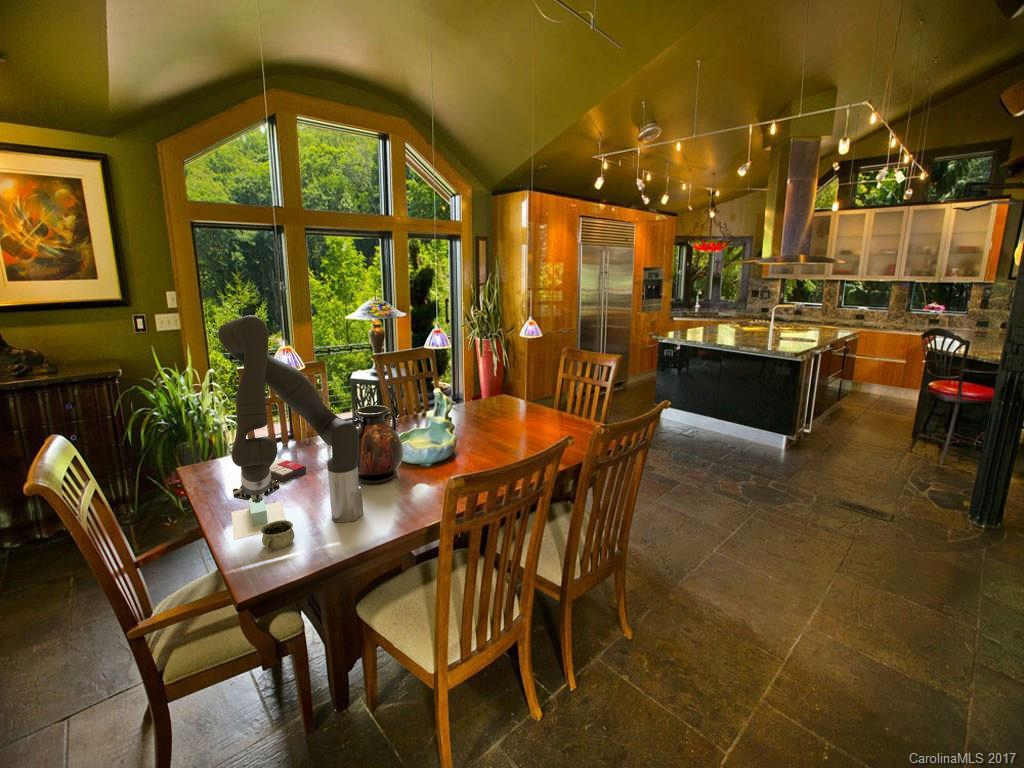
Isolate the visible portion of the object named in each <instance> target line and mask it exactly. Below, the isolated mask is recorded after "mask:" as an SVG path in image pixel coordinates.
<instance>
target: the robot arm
mask: <svg viewBox="0 0 1024 768" xmlns="http://www.w3.org/2000/svg"><path fill="white" fill-rule="evenodd" d="M217 333H218V334H217V335H218V337H217V338H218V340H219V343H220V344H221V345H222V348H224V349H225V350H226V352H228V353H229V354H231V356H233V357H234V358H235V359H236V360H238V361H239V362H240V363H242V364H243V371H242V374H241V377H240V381H239V383H238V387H237V391H236V395H235V412H236V432H235V437H234V441H233V445H232V450H231V459H232V463H233V464H234V465H235V466H236V467H240V469H241V470H240V471H241V472H240V482H241V485H240V487H239V488H232V493H233V498H234V499H238V500H243V501H248V500H250V498H251V499H252V502H255V503H259V502H260V501H262V500H263V499H264V497H269V496H271V495H272V494H274V493H275V492H277V491H278V490H280V488H281V487H280V482H279V481H278V480H277V481H276V480H273V481H272V479H271V471H270V466H271V465H272V464H273V462H274V461H275V460H277V459H276V458H277V456H278V452H279V451H278V444H277V442H276V440H275V439H273V438H271V437H270V436H269V437H268V436H261V437H252V438H247V435H249V433H251V432H252V431H255V430H259V429H263V428H265V427H266V426H267V424H268V414H267V401H266V385H267V386H268V387H269V388H270V389H271V390H272V391H273V393H275V394H276V395H277V396H278V397H279V398H280V400H282V401H283V403H285V404H286V405H287V406H288V407H290V409H291V410H293V411H294V412H295V413H296V414H298V416H300V417H301V418H302V419H304V420H305V421H306V422H307V423H308V425H310V427H312V428H313V430H314V431H315V432H316V434H317V435H318V436H319V438H320V439H321V440H322V441H323V442H324V443H325V444H327V445H328V446H330V447H331V458H329V459H328V460H327V464H326V465H327V474H328V476H327V477H328V489H329V500H330V512H331V519H332V520H333V521H334V522H336V523H349V522H356V521H357V520H358V519H359V518H360V517H361V516H362V515H363V513H364V503H363V502H364V501H363V487H362V486H360V483H359V479H358V464H357V462H358V459H359V434H358V430H357V429H358V427H357V426H356V425H354V424H353V423H352V422H350V421H348V420H345V419H343V418H341V417H339V416H338V415H337V414H335V413H334V412H333V411H332V410H331V409H329V407H328V406H327V405H326V404H325V403H324V401H323V399H322V398H321V396H320V394H319V392H318V390H317V388H316V387H315V386H314V384H313V383H312V382H311V381H310V379H308V378H307V377H306V376H305V375H304V374H303V372H301V371H300V370H299V369H297V368H296V367H294V366H292V365H290V364H288V363H285V362H284V361H282V360H279V359H277V358H275V357H273V356H271V354H269V353H268V352H269V342H270V337H269V336H270V335H269V329H268V326H267V324H266V323H265V321H264V320H263V319H262V318H260V317H259V316H257V315H253V314H252V315H250V314H249V315H245V316H242V317H239V318H235V319H233V320H229V321H227V322H225V323H223V324H221V326H220V327H219V328H218V332H217Z"/></svg>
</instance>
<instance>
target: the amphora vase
mask: <svg viewBox="0 0 1024 768" xmlns="http://www.w3.org/2000/svg"><path fill="white" fill-rule="evenodd" d="M354 413H355V415H356V416H357V417H359V418H361V420H360V419H354V420H352V421H351V423H353V424H354V425H355V426H356V425H357V424H359V426H358V427H357V430H358V434H359V459H358V462H357V464H358V479H359V484H362V485H365V486H378V485H379V484H380V485H384V484H387V483H390V482H392V481H394V480H395V479H396V478H397V477H398V474H399V471H398V468H399V467H400V466H401V463H402V462H403V459H404V453H405V452H404V445H403V441H402V439H401V437H400V436H399V435H400V434H398V433H397V419H396V415H395V414H394V413H393V412H391V409H390V407H388V406H385V405H367V406H366V405H365V406H362V407H359V408H357V409H356V410H355V412H354ZM389 417H390V418H391V419H390V420H391V426H390V424H389V423H388V422H387V421H388V418H389Z"/></svg>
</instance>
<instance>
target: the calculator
mask: <svg viewBox="0 0 1024 768" xmlns="http://www.w3.org/2000/svg"><path fill="white" fill-rule="evenodd" d="M270 471H271V480H273V481H276V480H278V481H280V482H279V483H286V482H288V481H290V479H291V480H293V479H296V478H297V476H298V477H300V476H302V475H305V474H306V473H307V467H306V466H305V465H304V464H300V463H297V462H294V461H292V460H289V459H284V458H278V459H275V461H274V462H273V464H272V465H271V466H270ZM304 473H305V474H304ZM285 481H286V482H285Z"/></svg>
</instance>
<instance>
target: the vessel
mask: <svg viewBox="0 0 1024 768" xmlns="http://www.w3.org/2000/svg"><path fill="white" fill-rule="evenodd" d="M293 527H294V524H293V522H292V521H290V520H287V519H286V520H280V521H275V522H271V523H269V524H267V525H265V526H264V527H262V529H261V533H260V534H262V537H261V542H262V545H263V546H264V547H265V550H267V553H268V554H271V553H272V551H278V550H283V549H285V548H288V547H289V546H291V545H292V543H293V541H294V539H295V536H296V535H295V531H294V530H293Z"/></svg>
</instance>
